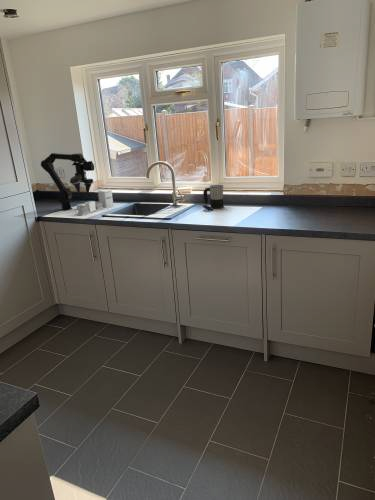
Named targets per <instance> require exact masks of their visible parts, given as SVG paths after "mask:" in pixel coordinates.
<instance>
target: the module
mask: <svg viewBox="0 0 375 500" xmlns="http://www.w3.org/2000/svg"><path fill="white" fill-rule="evenodd" d="M95 202H96V201H93V200H88V201H86V202H84V206H88V209H89V211H93V210H96V207H95Z"/></svg>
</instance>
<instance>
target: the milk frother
mask: <svg viewBox="0 0 375 500" xmlns="http://www.w3.org/2000/svg"><path fill="white" fill-rule="evenodd" d="M208 192H209V198H208ZM202 194H203V200H204V202H203V203H204V204H203V205H202V208H203V209H205V210H207V211H208V212H209V211H213V210H214V209H217V210H218V209H224V208H225V205H224V185H223V184H212V185H209V187H205V188H204V189H203V193H202ZM208 203H209V205H207V204H208Z"/></svg>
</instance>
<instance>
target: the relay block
mask: <svg viewBox="0 0 375 500" xmlns="http://www.w3.org/2000/svg"><path fill="white" fill-rule="evenodd" d="M80 206H85V203H78V204H76V210H77V211H78V207H80Z"/></svg>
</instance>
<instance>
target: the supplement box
mask: <svg viewBox="0 0 375 500" xmlns="http://www.w3.org/2000/svg"><path fill="white" fill-rule="evenodd" d="M97 195H98V202H102V204H103V207H105V208H107V209H108V208H113V207H114V200H113V199H114V198H113V190H112V189H102V190H98V191H97Z"/></svg>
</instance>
